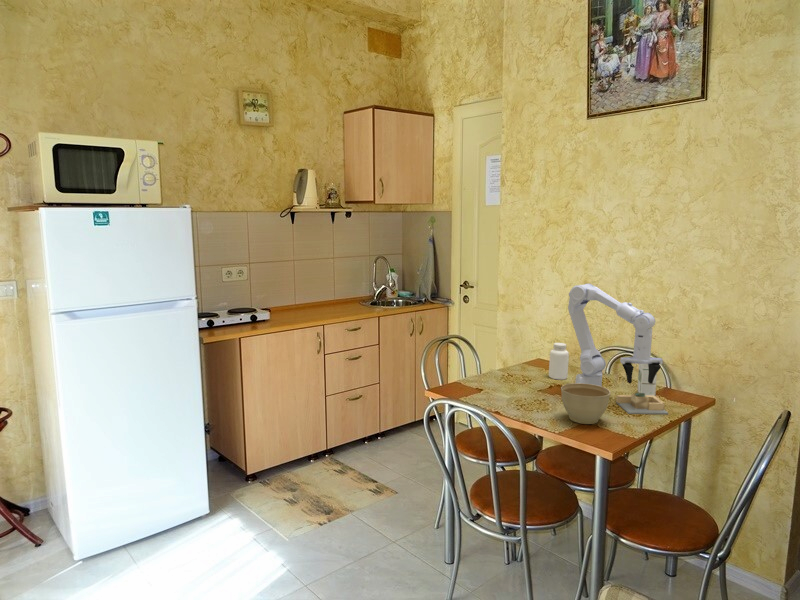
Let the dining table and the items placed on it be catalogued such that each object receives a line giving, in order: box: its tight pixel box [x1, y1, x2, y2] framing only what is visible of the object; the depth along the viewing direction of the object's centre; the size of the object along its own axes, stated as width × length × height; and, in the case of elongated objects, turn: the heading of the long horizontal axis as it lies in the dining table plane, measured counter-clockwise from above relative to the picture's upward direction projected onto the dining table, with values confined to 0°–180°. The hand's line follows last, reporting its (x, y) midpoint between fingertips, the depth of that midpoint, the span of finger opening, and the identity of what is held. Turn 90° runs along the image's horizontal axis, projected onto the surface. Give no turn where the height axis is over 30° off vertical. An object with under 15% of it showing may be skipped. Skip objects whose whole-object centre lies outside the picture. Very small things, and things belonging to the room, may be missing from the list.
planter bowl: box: [560, 382, 611, 425], centre depth 192 cm, size 16×16×11 cm
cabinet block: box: [630, 392, 649, 409], centre depth 205 cm, size 4×4×5 cm
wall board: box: [616, 394, 669, 415], centre depth 204 cm, size 14×12×3 cm
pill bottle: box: [548, 342, 570, 380], centre depth 243 cm, size 8×8×15 cm
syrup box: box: [637, 356, 658, 396], centre depth 221 cm, size 6×6×14 cm
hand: (639, 382), depth 205 cm, fingers open, 7 cm apart
